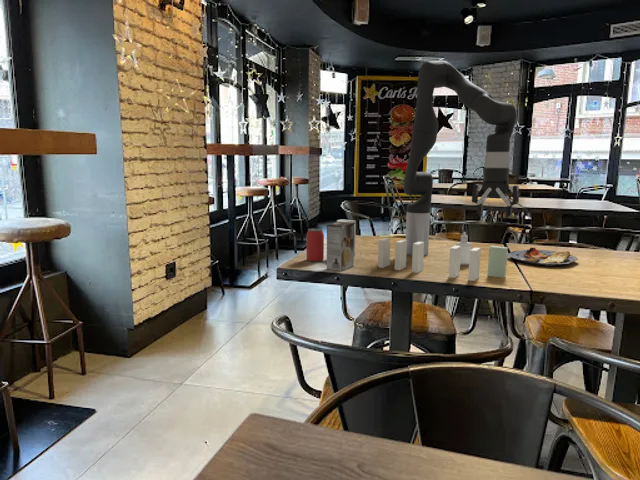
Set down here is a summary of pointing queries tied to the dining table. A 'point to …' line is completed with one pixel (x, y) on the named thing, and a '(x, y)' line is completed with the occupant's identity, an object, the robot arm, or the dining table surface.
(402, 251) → the domino
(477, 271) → the domino
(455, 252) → the domino
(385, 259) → the domino
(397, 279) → the dining table surface
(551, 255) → the food plate
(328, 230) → the coffee box
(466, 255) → the eye dropper bottle
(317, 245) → the beer can
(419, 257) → the domino
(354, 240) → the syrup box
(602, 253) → the dining table surface
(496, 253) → the sage domino
